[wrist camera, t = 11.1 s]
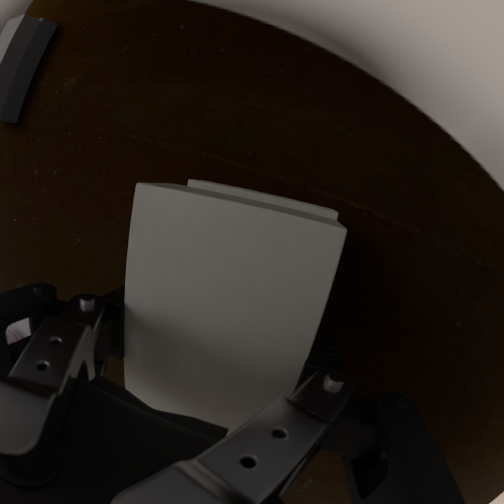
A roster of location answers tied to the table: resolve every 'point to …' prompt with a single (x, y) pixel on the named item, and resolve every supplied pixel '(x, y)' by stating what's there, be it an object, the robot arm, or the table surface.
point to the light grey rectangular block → (222, 300)
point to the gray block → (20, 60)
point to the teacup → (17, 331)
